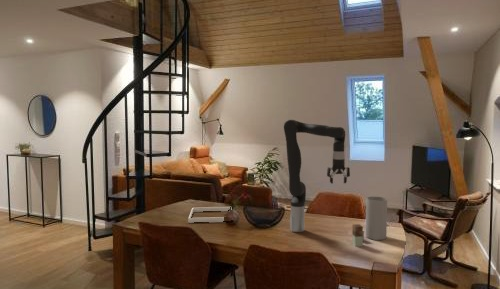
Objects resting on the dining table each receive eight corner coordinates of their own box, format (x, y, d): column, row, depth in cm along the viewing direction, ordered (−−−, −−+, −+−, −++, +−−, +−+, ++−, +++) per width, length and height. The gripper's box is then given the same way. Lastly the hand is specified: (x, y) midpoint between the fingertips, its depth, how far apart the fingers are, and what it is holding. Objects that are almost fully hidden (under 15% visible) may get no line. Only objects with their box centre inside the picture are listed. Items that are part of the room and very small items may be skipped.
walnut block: (355, 236, 210) (355, 226, 209) (352, 234, 214) (352, 224, 214) (362, 236, 210) (362, 226, 210) (359, 234, 215) (359, 224, 214)
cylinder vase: (361, 236, 228) (362, 198, 226) (372, 232, 236) (373, 195, 234) (379, 241, 218) (379, 201, 216) (390, 237, 226) (391, 198, 224)
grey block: (357, 241, 219) (357, 232, 219) (353, 239, 223) (353, 229, 223) (363, 240, 220) (363, 231, 220) (359, 238, 225) (359, 229, 224)
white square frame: (188, 222, 260) (188, 218, 260) (192, 211, 292) (192, 207, 292) (232, 221, 262) (232, 217, 262) (231, 210, 294) (231, 206, 294)
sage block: (355, 246, 210) (355, 236, 210) (352, 243, 215) (352, 234, 214) (362, 246, 211) (362, 236, 210) (359, 243, 215) (359, 234, 215)
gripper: (329, 159, 224) (329, 184, 225) (351, 158, 224) (351, 184, 226) (326, 157, 231) (325, 182, 232) (347, 157, 232) (347, 182, 233)
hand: (338, 183), depth 229 cm, fingers open, 8 cm apart
